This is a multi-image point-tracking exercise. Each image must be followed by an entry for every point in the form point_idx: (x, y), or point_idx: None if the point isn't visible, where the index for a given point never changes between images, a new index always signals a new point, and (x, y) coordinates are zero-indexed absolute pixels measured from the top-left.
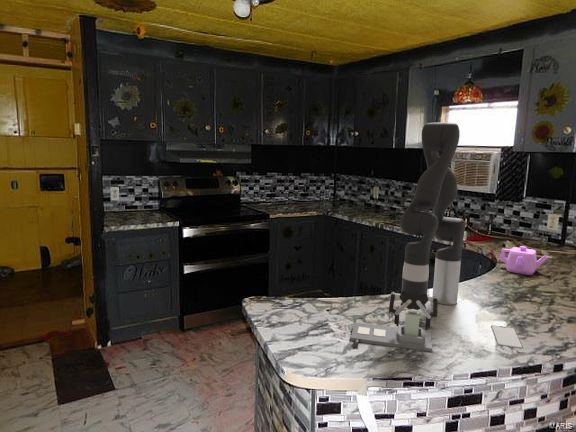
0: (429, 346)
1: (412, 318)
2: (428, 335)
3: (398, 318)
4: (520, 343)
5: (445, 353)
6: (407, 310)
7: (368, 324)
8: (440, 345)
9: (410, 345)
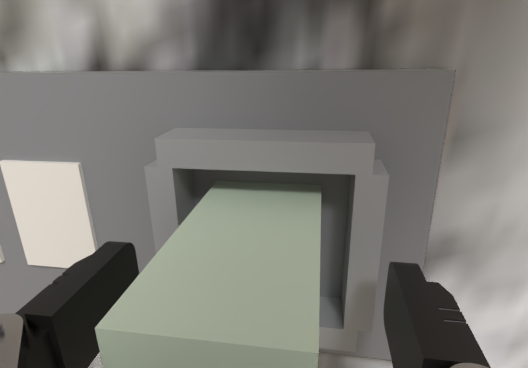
0: None
1: None
2: (423, 163)
3: (87, 356)
4: None
5: (490, 351)
6: (126, 353)
7: None
8: (490, 251)
9: None
